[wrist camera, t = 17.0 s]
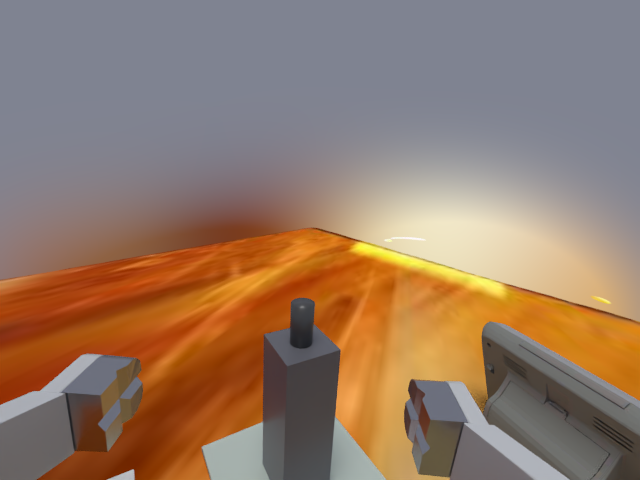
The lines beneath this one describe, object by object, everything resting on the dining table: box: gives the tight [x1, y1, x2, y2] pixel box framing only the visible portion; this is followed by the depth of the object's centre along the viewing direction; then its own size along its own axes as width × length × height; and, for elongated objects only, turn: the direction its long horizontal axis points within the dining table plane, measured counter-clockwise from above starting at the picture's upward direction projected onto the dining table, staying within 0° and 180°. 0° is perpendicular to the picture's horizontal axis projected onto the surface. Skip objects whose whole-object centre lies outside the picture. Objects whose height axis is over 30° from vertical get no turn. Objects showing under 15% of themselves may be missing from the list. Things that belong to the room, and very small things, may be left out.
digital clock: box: [482, 322, 640, 480], centre depth 27 cm, size 16×9×11 cm, turn 10°
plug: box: [263, 298, 340, 480], centre depth 24 cm, size 4×4×15 cm
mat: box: [202, 417, 386, 480], centre depth 26 cm, size 12×12×1 cm
